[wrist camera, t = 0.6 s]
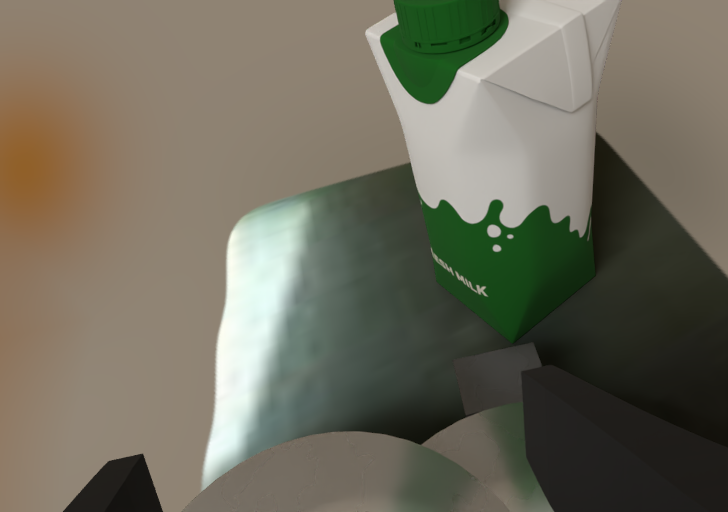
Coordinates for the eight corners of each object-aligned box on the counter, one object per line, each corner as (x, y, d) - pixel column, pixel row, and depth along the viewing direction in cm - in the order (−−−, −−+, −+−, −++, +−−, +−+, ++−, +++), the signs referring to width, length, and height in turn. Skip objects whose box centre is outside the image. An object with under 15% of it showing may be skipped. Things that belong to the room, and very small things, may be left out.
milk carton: (417, 282, 38) (333, -14, 24) (514, 210, 41) (490, -100, 26) (513, 364, 32) (475, 36, 18) (620, 274, 35) (661, -79, 21)
